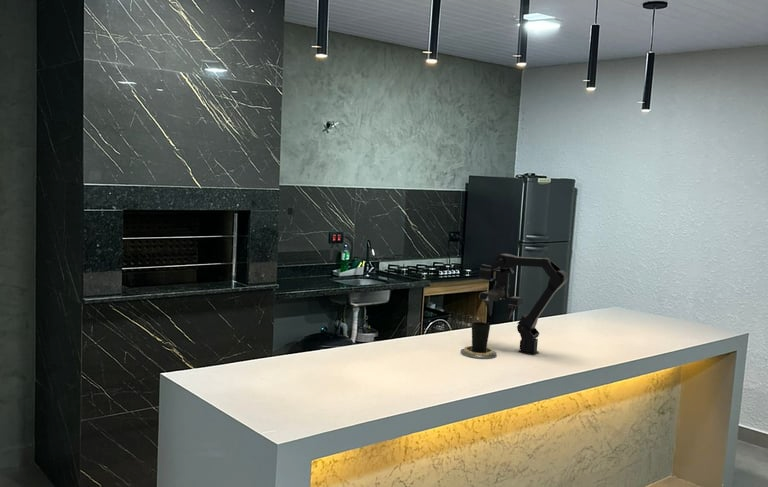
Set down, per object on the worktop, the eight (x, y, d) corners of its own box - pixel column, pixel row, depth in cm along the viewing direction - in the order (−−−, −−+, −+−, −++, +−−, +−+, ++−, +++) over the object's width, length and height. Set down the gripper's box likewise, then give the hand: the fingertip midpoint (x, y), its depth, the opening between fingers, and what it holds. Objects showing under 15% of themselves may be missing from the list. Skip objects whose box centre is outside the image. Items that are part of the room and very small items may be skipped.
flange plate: (503, 354, 289) (503, 350, 289) (485, 361, 277) (485, 356, 277) (472, 347, 298) (472, 343, 298) (453, 353, 286) (454, 348, 286)
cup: (489, 355, 284) (491, 326, 282) (470, 354, 284) (472, 325, 283) (486, 350, 291) (488, 322, 290) (468, 349, 291) (470, 321, 290)
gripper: (473, 281, 299) (471, 316, 300) (512, 287, 288) (509, 323, 289) (486, 279, 308) (484, 313, 309) (524, 284, 296) (521, 320, 298)
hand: (499, 317), depth 301 cm, fingers open, 9 cm apart
